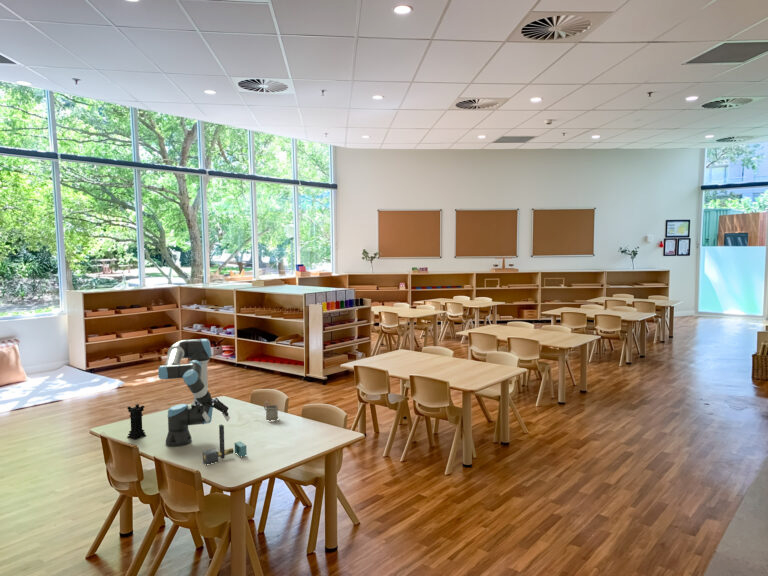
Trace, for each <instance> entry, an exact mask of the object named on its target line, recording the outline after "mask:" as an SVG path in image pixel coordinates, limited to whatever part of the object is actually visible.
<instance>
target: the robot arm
mask: <svg viewBox="0 0 768 576" xmlns="http://www.w3.org/2000/svg"><path fill="white" fill-rule="evenodd" d="M212 352H213V351H212V347H211V342H210V340H209V339H208V338H198V339H197V338H196V339H195V338H194V339H193V338H192V339H182V340H178V341H177V342H174V343H173V344H172V345H171V346H170V347H168V349H167V358H166V361H165V364H164V365H159V366H158V379H160V380H172V379H174V380H175V379H183V382H184V384H185V385H186V386H187V387H188V390H189V391H190V392H191V393H192V395H193V401H192V402H191V404H190V405H191V406H190V405H188V403H181V404H180V403H179V404H176V405H173V406H171V407H169V408H168V409H167V425H168V427H167V429H168V432H167V434H166V439H165V445H166V446H167V447H173V448H175V447H182V446H186V445H189V444H190V443H192V435H191V432H190V429H189V426H195V425H196V426H197V425H206V424H210V423H211V422H212V419H213V412H214V411H213V410H214V409H215V410H217V411H219V412H221V415H222V416H223V418H224V419H225V421H226V422H229V421H230V419H231V416H230V415H229V412H228V410H229V407H228V406H227V405H225V404H224V403H223V401H220V400H219V398H217V397H214V398H212V394H211V393H210V392H209V385H208V384H209V383H208V382H209V381H208V362H209V361H210V360H211V359H210V358H211V357H213V356H212V355H213V353H212ZM182 359H189V362H188V363H183V364H181V361H182Z"/></svg>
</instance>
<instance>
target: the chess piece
mask: <svg viewBox="0 0 768 576" xmlns="http://www.w3.org/2000/svg"><path fill="white" fill-rule="evenodd" d="M134 405H135V406H134V407H132V406H130V405H129V406H127V408H126V409H127V410H128V413H129V414H130V415H129V416H128V417H130V430H129V431H128V432H129V433H128V434H127V437H126V438H129V439H131V440H134V441H136V440H138V439H142V438H144V437H147V434H146V432H145V429H143V416H144V414H143V413H142V412H144V408H145V405H140V404H139V403H137V404H134Z"/></svg>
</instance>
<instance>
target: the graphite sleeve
mask: <svg viewBox="0 0 768 576" xmlns="http://www.w3.org/2000/svg"><path fill="white" fill-rule="evenodd" d="M218 452H219V451H218V450H217V449H216V448H213V449H212V448H211V449H208V450H204V451H202V463H203V464H204V465H205V464H206V465H205V466H208V465H207V464H210V465H212V464H211V463H214V464H216V463H215V462H217V463H219V457H218ZM204 455H205V459H206V460H205V461H204V458H203V456H204Z"/></svg>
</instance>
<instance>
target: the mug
mask: <svg viewBox="0 0 768 576" xmlns="http://www.w3.org/2000/svg"><path fill="white" fill-rule="evenodd" d="M263 408H264V411H265V412H266V413H265V415H266V417H265V419H266V420H269V421H271V420H277V419H278V418H279V414H278V413H279V412H278V411H279V410H278V408H279V406H278V405H276V404H270V405H269V403H268V401H264V402H263Z"/></svg>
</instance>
